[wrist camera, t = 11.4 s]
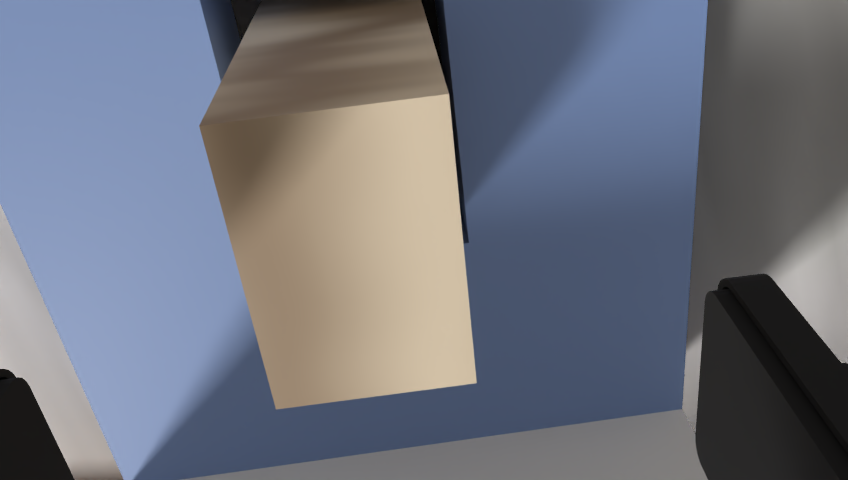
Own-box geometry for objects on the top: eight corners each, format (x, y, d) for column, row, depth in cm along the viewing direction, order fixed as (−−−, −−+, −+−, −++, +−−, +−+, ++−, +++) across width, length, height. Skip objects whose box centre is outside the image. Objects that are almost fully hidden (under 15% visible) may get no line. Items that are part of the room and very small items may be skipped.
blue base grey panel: (665, -241, 19) (1513, -355, 5) (645, 385, 29) (909, 927, 15) (-66, -139, 19) (-1265, 33, 5) (168, 452, 29) (-11, 1057, 15)
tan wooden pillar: (412, -28, 21) (449, 93, 12) (434, 171, 24) (476, 382, 15) (266, -10, 21) (199, 125, 12) (306, 188, 24) (276, 409, 15)
